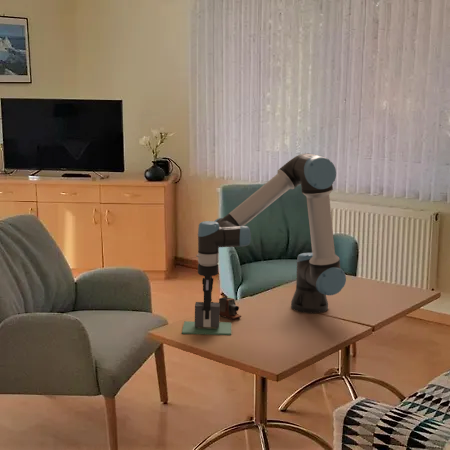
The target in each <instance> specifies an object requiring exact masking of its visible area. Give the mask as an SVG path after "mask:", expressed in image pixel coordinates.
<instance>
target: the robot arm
mask: <svg viewBox="0 0 450 450" xmlns="http://www.w3.org/2000/svg"><path fill="white" fill-rule="evenodd" d="M276 173H277V174H276V175H274V176H273V177H272V178H270V179H269V180H267V181H266V183H264V184H263V185H262V186H260V187H259V188H258V189H257V190H256V191H255V192H253V193H252V194H251V195H250V196H248V197H247V198H246V199H245V200H244V201H243V202H241V203H240V204H239V205H237V206H236V207H235V208H234V209H232V210H231V211H230V212H229V213H227V215H225V216H224V217H218V218H216V219H215V220H214V221H213V220H212V221H211V220H206V221H200V222H199V224H198V230H197V243H198V244H197V245H198V246H197V254H196V258H197V263H198V264H197V274H198V275H199V276H200V277H201V276H202V277H203V278H202V282H201V283H202V292H203V302H204V308H203V309H202V311H203V327H211V302H213V301H212V299H213V298H212V292H213V288H214V287H213V286H214V277H215V276H218V274H219V261H220V260H219V259H220V257H219V255H220V253H219V249H220V248H235V247H236V248H237V247H238V248H239V247H246V246H249V245H250V244H251V242H252V233H251V229H250V227H249V226H247V224H248V223H249V222H251V221H252V220H253V219H255V217H257V216H258V215H259V214H261V213H262V212H263V211H264V210H265V209H267V208H268V207H269V206H270V205H272V204H273V203H275V201H277V200H278V199H279V198H280V197H281V196H283V194H285V193H287V192H288V191H289V190H294V189H295V188H296V187H299V186H300V187H301V193H302V194H303V195H304V196H305V197H306V205H307V206H306V207H307V214H308V215H307V216H308V223H309V233H310V243H311V252H303V253H300V254H298V255H297V261H296V279H295V280H296V283H295V284H296V285H295V291H294V293H293V295H292V296H293V297H292V298H291V302H290V303H291V305H290V308H291V309H292V310H294V311H296V312H298V313H299V312H301V313H306V314H319V313H321V314H322V313H324V312H326V311H328V310H329V301H328V299H327V298H328V297H327V296H335V295H337V294H339V293H340V292H341V291H342V289H344V287H345V285H346V282H347V275H346V273H345V271H344V270H343V269H342V268H341V261H340V257H339V256H338V255H337V254H336V252H335V250H336V249H335V241H334V232H333V231H334V230H333V221H332V219H333V218H332V211H331V198H330V194H331V193H332V191H333V190H334V188H333V184H334V182H335V181H336V177H337V169H336V166H335V165H334V162H332V160H330V159H329V158H327V157H325V156H323V155H319V154H318V155H317V154H314V153H313V154H312V153H306V152H305V153H300V154H298V155H296V156H294V157H293V158H291V159H290V160H288V161H287V162H286V163H285V164H284V165H282V166H281V167H280V168H279V169H278V170H277V172H276Z"/></svg>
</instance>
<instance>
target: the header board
mask: <svg viewBox="0 0 450 450" xmlns="http://www.w3.org/2000/svg"><path fill="white" fill-rule="evenodd" d="M232 322H233V321H232ZM232 322H230V321H229V322H227V321H226V322H225V321H219V327H195V321H186V320H185V321H184V322H183V326H182V330H181V334H182V335H214V336H215V335H216V336H217V335H218V336H232Z"/></svg>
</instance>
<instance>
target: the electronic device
mask: <svg viewBox="0 0 450 450" xmlns="http://www.w3.org/2000/svg"><path fill="white" fill-rule="evenodd" d="M218 303H220V316H221V317H223V318H226V319H230V320H231V321H232V322H233V321H236V320H237V321H238V320H240V318H241V317H242V315H241V314H238V311H239V309H240V307H239V306H238V305H236V301H235V298H231V297H221V298H219V299H218ZM220 316H219V317H220Z"/></svg>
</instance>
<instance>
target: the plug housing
mask: <svg viewBox="0 0 450 450" xmlns="http://www.w3.org/2000/svg"><path fill="white" fill-rule="evenodd" d="M203 308H204V301H195V304H194V322H195V327H203V311H202V309H203ZM219 322H220V303H219V301H217V302H215V301H211V327H219Z"/></svg>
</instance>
